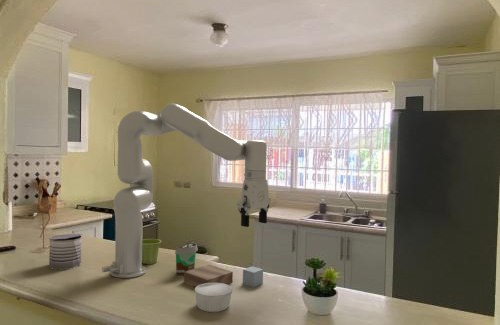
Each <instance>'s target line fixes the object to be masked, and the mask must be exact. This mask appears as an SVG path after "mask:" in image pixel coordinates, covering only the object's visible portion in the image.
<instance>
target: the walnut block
mask: <svg viewBox="0 0 500 325" xmlns="http://www.w3.org/2000/svg"><path fill="white" fill-rule="evenodd" d="M233 274H234V272H233V271H230V270H227V269H225V268H222V267H218V266H214V265H211V264H207V265H204V266H200V267H196V268H194V269H192V270H189V271H185V272H184V274H183V283H186V284H187V285H191V286H194V287H195V288H196V287H197V286H198V285H201V284H205V283H223V284H227V285H229V284H230V283H233V277H234V276H233Z"/></svg>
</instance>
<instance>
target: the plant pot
mask: <svg viewBox="0 0 500 325" xmlns="http://www.w3.org/2000/svg"><path fill="white" fill-rule="evenodd" d="M161 243H162V240H161V239H159V238H158V239H155V238H145V239H142V263H143V264H142V265H145V264H146V265H154V264H156V263H157V262H158V256H159V251H160V250H159V249H160V246H161Z"/></svg>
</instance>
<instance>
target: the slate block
mask: <svg viewBox="0 0 500 325" xmlns="http://www.w3.org/2000/svg"><path fill="white" fill-rule="evenodd" d="M242 284H243V285H247V286H249V287H252V288H254V287H257V286H259V285H262V284H264V269H262V268H260V267H255V266H249V267H245V268H243V269H242Z"/></svg>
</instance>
